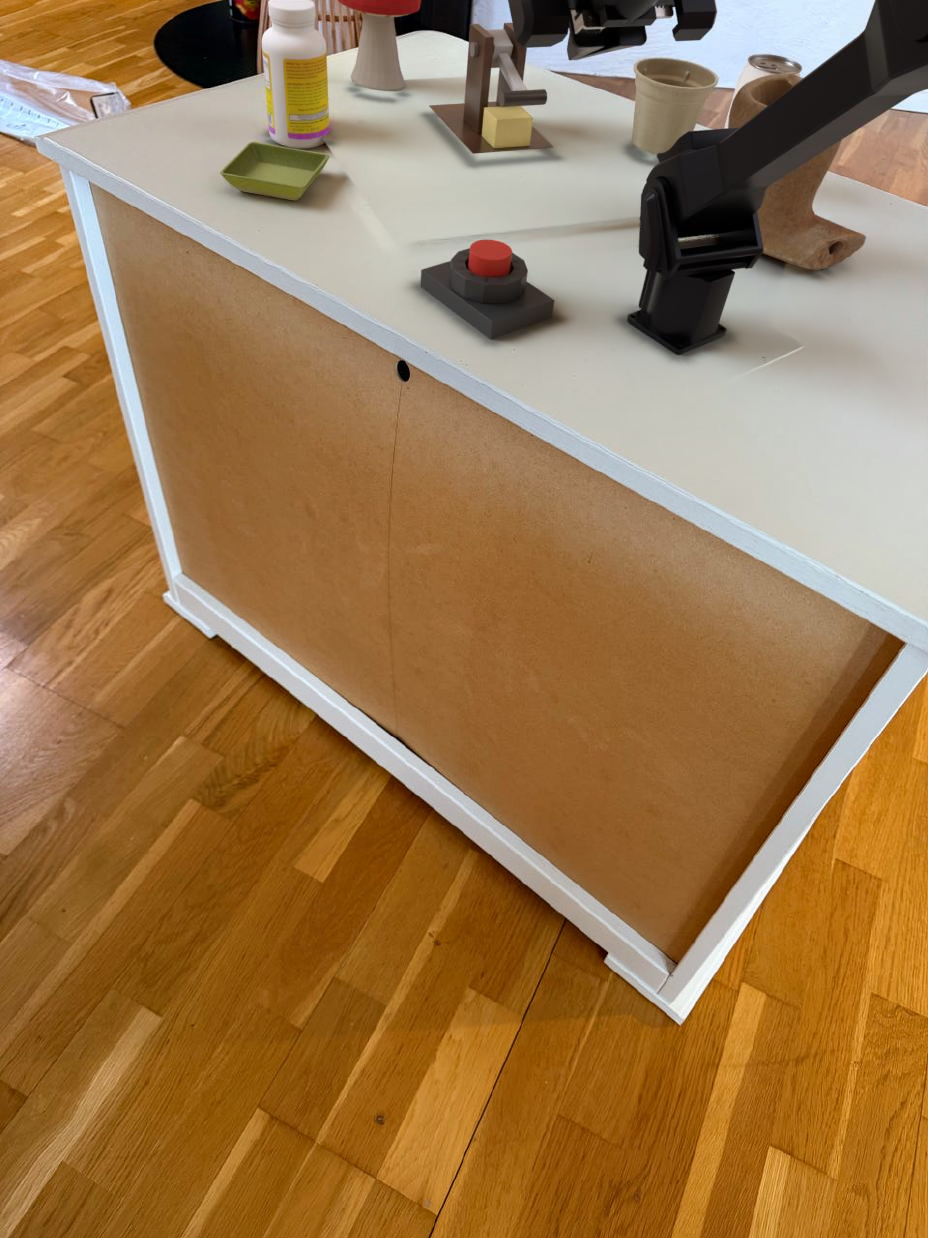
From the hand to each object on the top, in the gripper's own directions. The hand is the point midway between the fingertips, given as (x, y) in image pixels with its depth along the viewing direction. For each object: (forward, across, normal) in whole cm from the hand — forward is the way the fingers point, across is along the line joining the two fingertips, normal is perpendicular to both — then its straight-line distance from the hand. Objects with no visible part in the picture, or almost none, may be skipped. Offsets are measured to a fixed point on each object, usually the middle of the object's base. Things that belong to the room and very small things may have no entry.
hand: (571, 54), depth 84 cm
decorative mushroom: (+32, +8, -13) cm, 36 cm away
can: (+9, -24, +10) cm, 27 cm away
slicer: (+21, 0, -2) cm, 21 cm away
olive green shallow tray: (+16, +27, +3) cm, 31 cm away
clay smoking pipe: (-1, -18, +20) cm, 27 cm away
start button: (-5, +15, +20) cm, 25 cm away
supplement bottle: (+24, +22, -4) cm, 32 cm away
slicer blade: (+14, 0, -5) cm, 15 cm away
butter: (+17, 0, 0) cm, 17 cm away
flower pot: (+16, -18, +4) cm, 24 cm away
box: (-3, +15, +22) cm, 27 cm away
